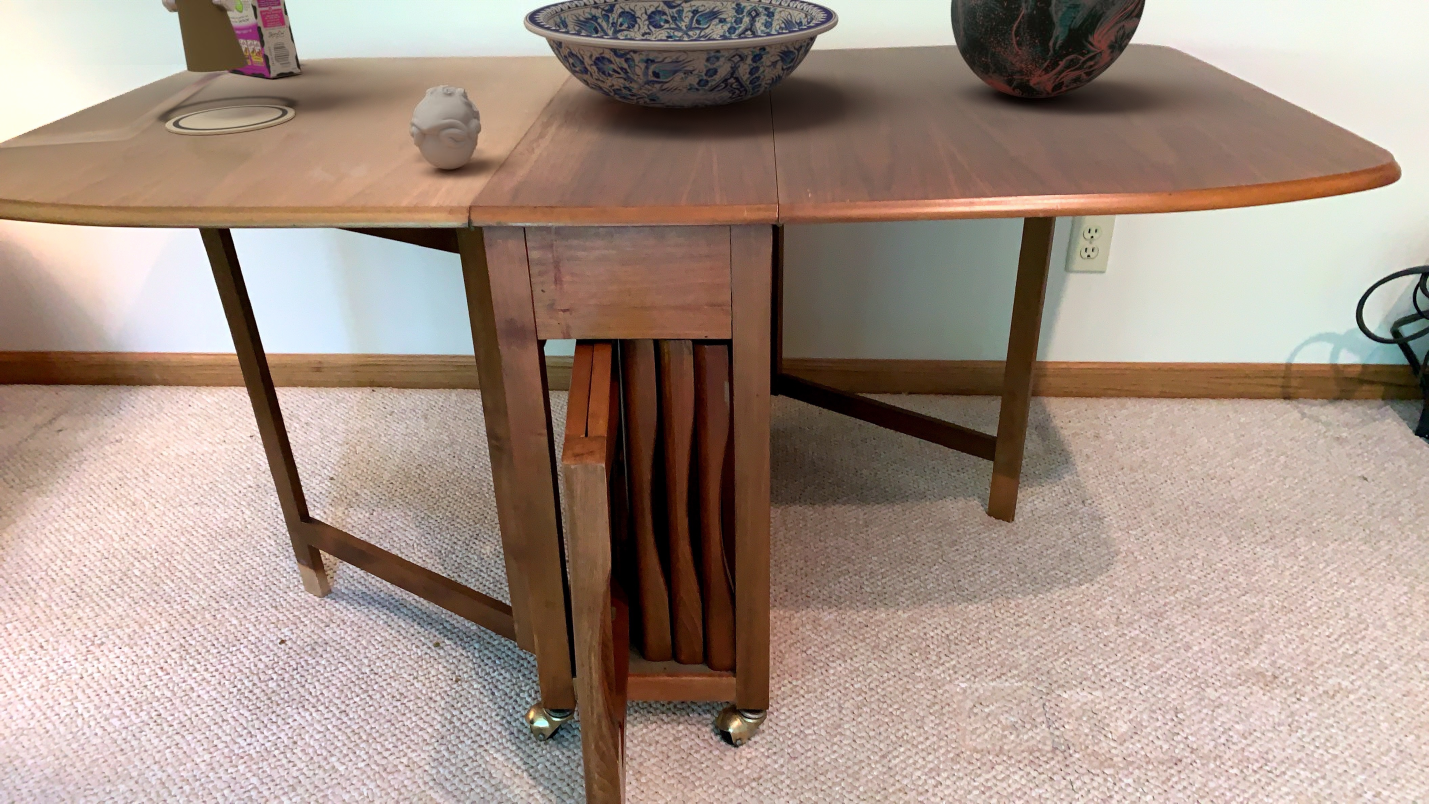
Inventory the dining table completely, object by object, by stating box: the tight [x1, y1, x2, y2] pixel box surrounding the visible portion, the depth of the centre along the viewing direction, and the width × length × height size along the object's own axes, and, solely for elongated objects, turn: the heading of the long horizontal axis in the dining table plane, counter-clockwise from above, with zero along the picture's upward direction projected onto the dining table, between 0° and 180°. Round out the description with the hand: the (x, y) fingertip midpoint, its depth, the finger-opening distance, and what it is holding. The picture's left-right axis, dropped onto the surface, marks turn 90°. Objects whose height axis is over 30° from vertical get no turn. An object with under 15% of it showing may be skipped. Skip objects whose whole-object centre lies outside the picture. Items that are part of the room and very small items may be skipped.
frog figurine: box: [409, 84, 482, 170], centre depth 79 cm, size 6×7×7 cm
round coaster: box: [165, 104, 296, 136], centre depth 98 cm, size 13×13×1 cm
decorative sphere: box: [950, 0, 1146, 99], centre depth 97 cm, size 20×20×20 cm
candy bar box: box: [226, 0, 302, 79], centre depth 119 cm, size 11×5×16 cm, turn 55°
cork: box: [176, 0, 248, 73], centre depth 94 cm, size 6×6×11 cm
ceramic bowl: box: [523, 0, 839, 109], centre depth 100 cm, size 34×34×10 cm
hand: (198, 8), depth 94 cm, fingers closed on cork, 4 cm apart
